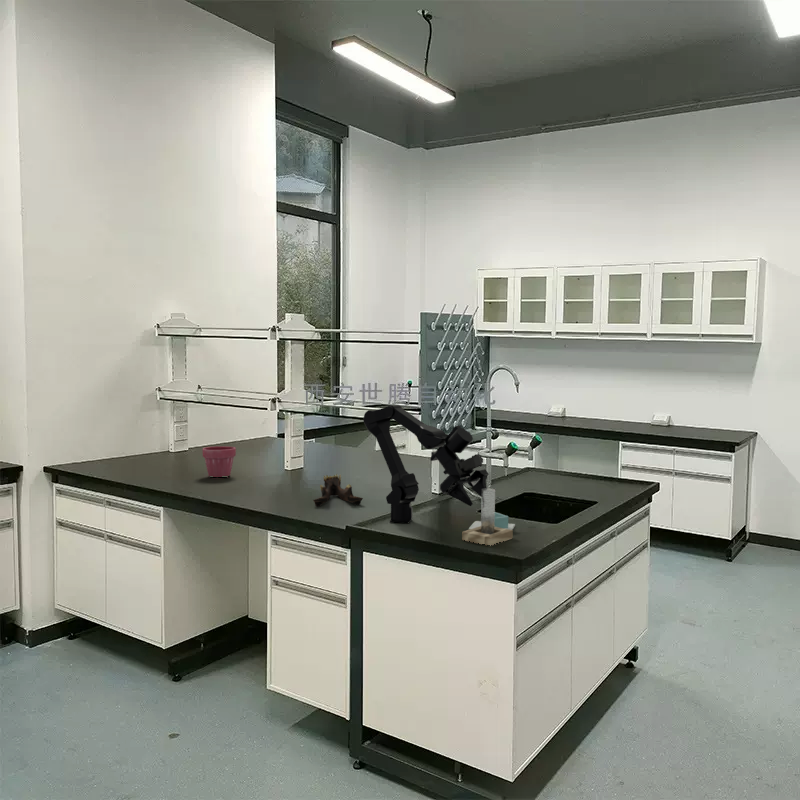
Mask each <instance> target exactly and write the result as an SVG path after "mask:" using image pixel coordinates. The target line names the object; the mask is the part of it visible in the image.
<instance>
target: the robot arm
mask: <svg viewBox="0 0 800 800" xmlns="http://www.w3.org/2000/svg"><path fill="white" fill-rule="evenodd" d="M392 420H393V421H395V422H397V423H398V425H401V426H402V427H403V428H405V429H406V430H408V431H409V432H410V433H412V434H413V435H414V436H415V437H416V439H417V441H418V442H419V443H420V444H421V446H423V447H424V448H425V449H427V450H433V449H436V451H431V453H430V455H431V456H430V461H431V462H433V461H434V462H435V461H437V462H439V464H440V465H441V467H442V468H443V469H444V471H443V472H442V473H443V474H444V476H446V475H448V476H446V477H445V479H444V480H443V481H442V482H441V483H440V484H439V490H440V491H441V493H442V494H443V495H445V494H446V496H450V497H452V498H454V499H456V500H458V501H460V502H461V503H463V504H465V505H467V506H469V507H472V506H473V505H474V504H473V502H472V499H471V498H470V496H469V494H468V493H467V492H466V489H465V487H464V484H468V486H470V487H471V490H472V491H474V492H475V494H477V495H479V496H480V497H481V498H482V489H486V488H487V483H486V482H487V479H488V478H489V477H488V476H489V475H490V474H489V472H488V471H487V469H484V468H480V469H477V468H479V467H482V466H483V464H484V458H483V457H482V456H481V455H480V454H479V453H476V454H474V455H472V456H471V457H468V458H466V459H465V458H460V457H459V455H458V454H462V453H463V452H464V451H465V449H466V448H467V447H468V446H469V445H470V444H471V443H472V441H473V440H474V438H473V435H472V434H471V432H470V431H468V430H466V429H465V428H462V426H461V425H455V426H454V427H453V428H452V430H451V431H450V432H449V433H448V434H447V433H445V431H444V430H442V429H440V428H438V427H435V426H432V425H428V424H427V423H424V422H422V421H421V420H420V419H418V418H417V417H415V416H414V415H413V414H411V413H410V412H408V411H407V410H405V409H404V408H402V406H401V405H399V404H392V405H388V406H386V407H382V408H378V409H369V410H366V411H365V413H364V415H363V418H362V421H363V423H364V426H365V427H366V429H367V430H368V432H369V433H371V435H373V436H374V437H375V439H376V441H377V444H378V446H379V448H380V450H381V453H382V456H383V458H384V461H385V463H386V466H387V468H388V470H389V473H390V475H391V480H390V487H391V490H390V492H389V493H388V494H387V495H386V497H385V498H386V503H387V504H388V505H390V519H389V523H391V522H410V523H411V521H412V520H413V514H414V513H413V506H412V502H415V501H416V499H417V498H416V497H417V495H418V492H419V490H420V489H419V488H420V487H419V484H420V483H419V482H418V481H417V478H416V475H415V473H409V472H408V471H407V470H406V468H405V466H404V464H403V460H402V459H401V456H400V454H399V451H398V448H397V447H396V444H395V442H394V439H393V437H392V435H391V431H390V430H391V429H390V428H391V421H392ZM474 469H476V470H474Z"/></svg>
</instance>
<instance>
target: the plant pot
mask: <svg viewBox="0 0 800 800" xmlns="http://www.w3.org/2000/svg"><path fill="white" fill-rule="evenodd" d="M236 455H237V448H236V447H235V446H228V445H227V446H226V445H224V446H223V445H222V446H220V445H219V446H218V445H217V446H215V445H214V446H205V447H202V458H204V462H205V466H206V470H207V473H208V475H207V476H208V477H209V476H213V477H222V476H229V475H230V476H231V474H232V473H231V472H232V469H233V464H234V458H235V457H237V456H236Z"/></svg>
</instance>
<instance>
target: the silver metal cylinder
mask: <svg viewBox="0 0 800 800" xmlns="http://www.w3.org/2000/svg"><path fill="white" fill-rule="evenodd" d="M480 501H481V502H480V503H481V504H480V505H481V506H480V507H481V508H480V510H481V512H480V514H481V515H480V521H481V533H485V534H490V535H491V534H494V526H495V512H496V510H495V509H496V489H494V488H487V487H486V489H482V497H481V500H480Z"/></svg>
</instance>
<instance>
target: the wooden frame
mask: <svg viewBox="0 0 800 800" xmlns="http://www.w3.org/2000/svg"><path fill="white" fill-rule="evenodd" d="M461 532H462V533H461V541H464V540H465V542H469V541H470V542H469V543H473V542H474V544H478V543H479V544H478V545H482V544H485V545H484V546H487V545H490V546H489V547H492V546H495V545H497V544H496V543H498V544H500V543H499V542H501V543H504V542H506V541H508V540H512V539H513V537H514V536H513V532H514V529H513V530H509V529H504V528H499V527H494V534H491V535H490V534H485V533H481V526H479V527H476V528H473V529H470V530H469V529H467V530H463V531H461ZM503 541H504V542H503ZM494 544H495V545H494ZM491 545H492V546H491Z"/></svg>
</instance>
